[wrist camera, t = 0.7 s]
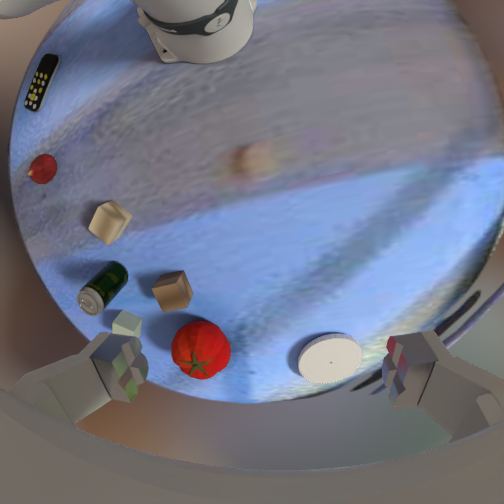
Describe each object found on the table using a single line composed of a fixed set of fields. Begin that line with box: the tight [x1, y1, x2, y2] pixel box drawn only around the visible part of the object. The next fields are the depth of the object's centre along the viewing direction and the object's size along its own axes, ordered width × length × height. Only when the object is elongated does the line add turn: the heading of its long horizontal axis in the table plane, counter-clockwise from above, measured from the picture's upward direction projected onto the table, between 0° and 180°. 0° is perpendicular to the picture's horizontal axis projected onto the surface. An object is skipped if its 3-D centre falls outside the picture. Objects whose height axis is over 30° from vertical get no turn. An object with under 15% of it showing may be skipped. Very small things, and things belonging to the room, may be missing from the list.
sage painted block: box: [112, 310, 143, 338], centre depth 53 cm, size 5×5×5 cm
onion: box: [28, 154, 57, 184], centre depth 39 cm, size 6×6×8 cm
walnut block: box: [152, 270, 194, 312], centre depth 49 cm, size 5×5×5 cm
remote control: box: [25, 54, 61, 111], centre depth 35 cm, size 6×13×2 cm, turn 151°
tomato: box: [171, 321, 231, 380], centre depth 50 cm, size 12×12×10 cm
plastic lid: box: [298, 333, 362, 384], centre depth 55 cm, size 14×14×2 cm
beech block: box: [88, 200, 132, 245], centre depth 44 cm, size 5×5×5 cm
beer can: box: [77, 262, 128, 316], centre depth 45 cm, size 5×5×12 cm
